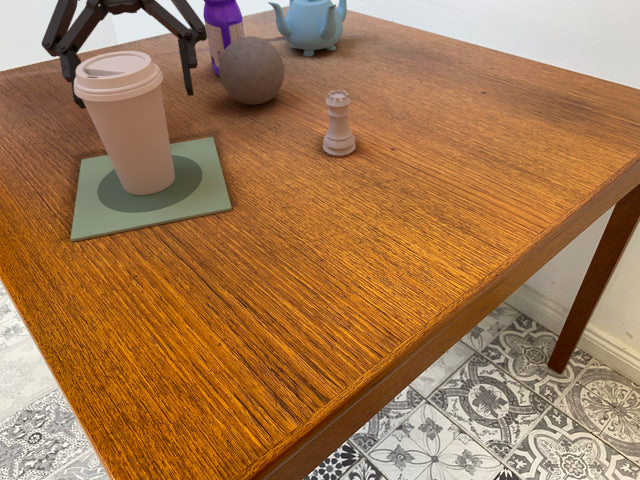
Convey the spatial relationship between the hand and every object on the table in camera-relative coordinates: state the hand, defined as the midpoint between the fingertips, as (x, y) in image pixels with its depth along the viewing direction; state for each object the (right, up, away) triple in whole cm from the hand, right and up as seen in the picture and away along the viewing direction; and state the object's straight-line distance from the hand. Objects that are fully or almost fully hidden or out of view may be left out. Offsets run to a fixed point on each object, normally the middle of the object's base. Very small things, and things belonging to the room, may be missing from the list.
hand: (136, 98), depth 66 cm
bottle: (+8, +11, +26) cm, 30 cm away
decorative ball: (+13, +4, +17) cm, 22 cm away
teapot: (+22, +19, +34) cm, 45 cm away
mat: (+2, -11, -1) cm, 11 cm away
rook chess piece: (+26, -6, +4) cm, 27 cm away
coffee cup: (+2, -11, -1) cm, 11 cm away
